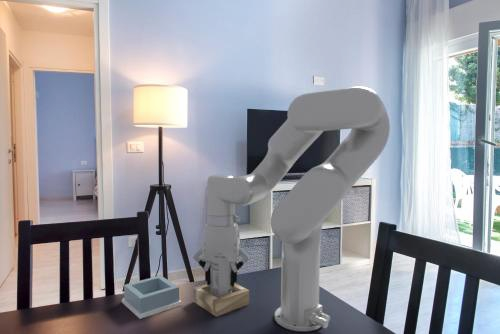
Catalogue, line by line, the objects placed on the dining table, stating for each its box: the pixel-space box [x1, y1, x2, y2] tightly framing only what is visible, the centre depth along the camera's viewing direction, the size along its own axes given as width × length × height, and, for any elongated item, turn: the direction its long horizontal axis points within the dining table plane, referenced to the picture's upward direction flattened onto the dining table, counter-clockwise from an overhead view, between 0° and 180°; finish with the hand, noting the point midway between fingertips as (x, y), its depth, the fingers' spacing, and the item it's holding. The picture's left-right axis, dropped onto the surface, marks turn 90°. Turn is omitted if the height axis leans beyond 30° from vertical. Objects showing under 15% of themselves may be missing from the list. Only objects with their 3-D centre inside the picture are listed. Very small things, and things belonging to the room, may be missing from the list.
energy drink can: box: [210, 253, 232, 298], centre depth 99 cm, size 6×6×15 cm
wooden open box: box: [193, 282, 250, 318], centre depth 100 cm, size 11×11×4 cm
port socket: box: [121, 275, 183, 320], centre depth 99 cm, size 12×12×5 cm
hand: (221, 283), depth 99 cm, fingers closed on energy drink can, 6 cm apart
